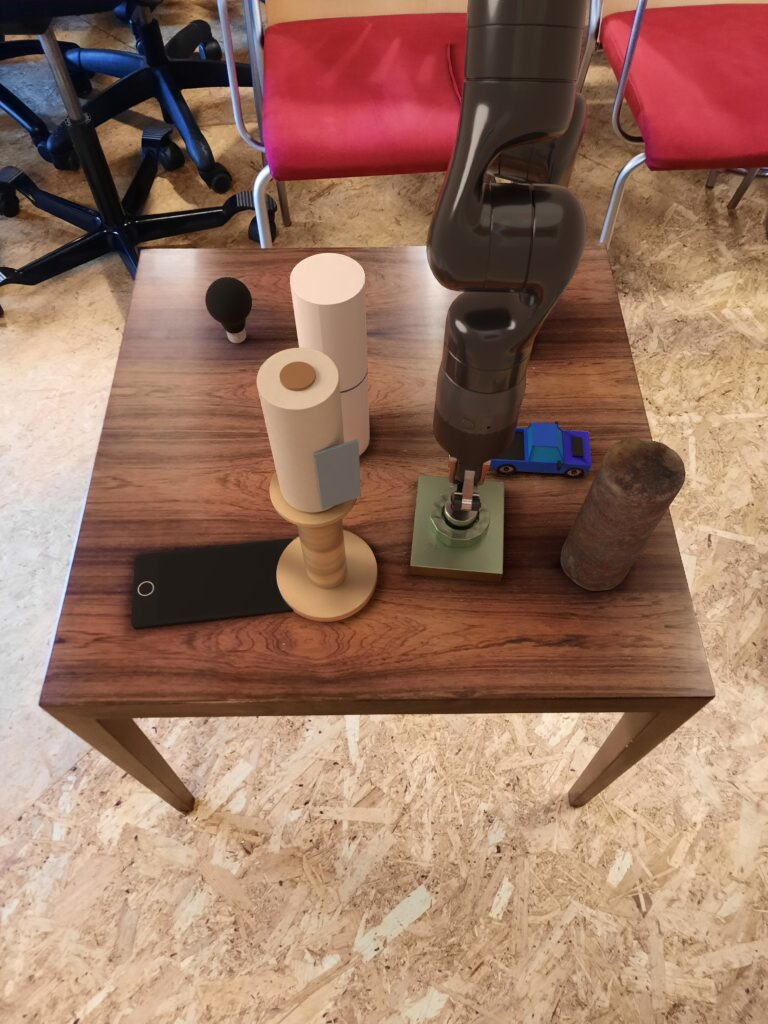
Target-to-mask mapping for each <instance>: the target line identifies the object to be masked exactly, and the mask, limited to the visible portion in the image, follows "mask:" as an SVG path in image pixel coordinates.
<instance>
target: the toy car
mask: <svg viewBox="0 0 768 1024" xmlns="http://www.w3.org/2000/svg"><path fill="white" fill-rule="evenodd" d="M590 443H591V442H590V435H589V431H585V430H584V431H583V430H564V429H563V428H561V427H560V426H559V421H555V422H554V423H545V422H531V423H529V425H528V426H526V427H516V430H515V434H514V438H513V441H512V443H511V444H510V446H509V447H508V449H507V450H506V451H505V452H503V453H502V454H501V455H499V456H497V457H495V458H493V459H491V464H490V469H489V471H491V472H492V471H496V473H497V474H499V475H500V476H511V475H514V474H515V473H516V472H521V473H522V472H524V473H525V472H526V473H544V474H559V475H560V474H561V475H564V476H565V477H566V478H568V479H573V480H575V479H579V478H581V477H590V474H591V469H592V455H591V445H590ZM489 471H488V472H489Z"/></svg>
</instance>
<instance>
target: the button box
mask: <svg viewBox="0 0 768 1024" xmlns="http://www.w3.org/2000/svg"><path fill="white" fill-rule="evenodd" d="M416 485H417V487H416V495H415V497H416V498H415V508H414V519H413V531H412V542H411V550H410V551H411V552H410V563H409V575H410V576H421V577H431V578H444V579H456V580H464V581H465V580H466V581H478V582H490V583H498V584H499V583H501V581H502V579H503V575H504V542H505V541H504V537H505V535H504V534H505V533H504V531H505V530H504V529H505V481H502V480H500V481H499V480H487V479H484V483H483V485H481V486H478V492H476V493H480V497H479V498H480V502H481V508H480V509H479V511H478V513H477V518H476V521H475V523H474V524H473V525H472V526H471V527H469V528H467V529H462V530H461V529H455V528H453V527H451V526H449V525H448V524H447V522H446V521H445V519H444V509H445V503H446V501H447V500H448V499H449V498H450V497H451V494H452V489H451V485H453V484H452V483H450V482H449V476H439V475H438V476H437V475H426V474H418V475H417V484H416Z"/></svg>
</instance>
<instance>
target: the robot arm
mask: <svg viewBox="0 0 768 1024" xmlns="http://www.w3.org/2000/svg"><path fill="white" fill-rule="evenodd" d="M587 8H588V0H467V6H466V22H465V29H466V30H465V37H464V54H463V71H462V79H463V81H462V87H461V96H462V98H461V106H459V107H460V108H459V116H458V123H457V128H456V133H455V134H456V135H455V138H454V142H453V146H452V150H451V154H450V158H449V162H448V165H447V169H446V172H445V175H444V178H443V182H442V185H441V187H440V190H439V193H438V196H437V200H436V202H435V206H434V209H433V211H432V215H431V218H430V222H429V226H428V230H427V235H426V243H425V245H426V246H425V247H426V248H425V251H426V252H425V253H426V258H427V259H426V260H427V263H428V266H429V269H430V271H431V274H432V275H433V278H434V279H435V280H436V281H437V283H438V284H439V285H440V286H442V287H443V288H445V289H446V290H449V291H453V292H458V293H460V292H461V293H460V294H459V295H457V296H456V297H455V298H454V299H453V301H452V302H451V304H450V305H449V307H448V310H447V313H446V318H445V323H444V335H443V344H442V345H443V346H442V354H441V360H440V361H441V362H440V365H439V368H438V373H437V377H436V386H435V387H436V388H435V397H434V407H433V408H434V409H433V420H432V432H433V436H434V438H435V441H436V442H437V444H438V445H439V447H440V448H441V449H442V450H444V452H445V453H447V454H448V465H447V466H448V468H449V473H448V477H449V482H450V483H452V484H453V485H451V489H452V494H451V498H450V501H451V509H454V511H465V512H468V511H479V509H480V508H481V502H480V498H479V497H480V493H476V492H478V486H481V485H483V483H484V480H486V479H485V478H486V474H487V472H489V469H490V464H491V459H493V458H495V457H497V456H499V455H501V454H502V453H503V452H505V451H506V450H507V449H508V447H509V446H510V444H511V443H512V441H513V438H514V434H515V430H516V428H517V425H518V422H519V417H520V415H521V414H520V413H521V409H522V405H523V401H524V397H525V392H526V388H527V372H528V368H529V363H530V360H531V355H532V351H533V346H534V343H535V339H536V336H537V335H538V333H539V332H540V329H541V328H542V326H543V325H544V323H545V321H546V320H547V318H548V316H549V315H550V313H551V312H552V310H553V309H554V308H555V307H556V305H557V303H558V302H559V301H560V300H561V298H562V296H563V295H564V293H565V292H566V290H567V288H568V287H569V286H570V283H571V282H572V280H573V278H574V277H575V275H576V272H577V271H578V268H579V267H580V264H581V262H582V259H583V255H584V252H585V249H586V244H587V238H588V221H587V215H586V211H585V208H584V206H583V204H582V202H581V200H580V198H579V197H578V195H577V194H576V193H575V192H574V191H572V190H571V188H569V186H570V183H571V178H572V176H573V171H574V168H575V165H576V163H577V159H578V157H579V156H578V155H579V152H580V149H581V147H582V142H583V138H584V135H585V130H586V124H587V119H588V104H587V103H588V102H587V100H586V97H585V96H584V95H583V94H582V93H581V92H579V91H577V88H578V84H577V81H578V80H579V71H580V62H581V55H582V48H583V39H584V33H585V31H584V30H585V24H586V16H587ZM487 175H488V176H489V181H490V182H488V181H485V180H486V176H487ZM496 178H498V179H502V180H506V181H509V182H497V180H496Z"/></svg>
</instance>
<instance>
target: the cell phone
mask: <svg viewBox="0 0 768 1024" xmlns="http://www.w3.org/2000/svg"><path fill="white" fill-rule="evenodd" d="M295 539H296V538H291V537H290V538H280V539H279V538H278V539H271V540H261V541H251V542H244V543H243V542H242V543H241V542H240V543H233V544H223V545H215V546H205V547H194V548H185V549H176V550H167V551H156V552H148V553H147V552H146V553H140V554H137V555H136V556H135V559H134V566H133V567H134V568H133V583H132V598H131V600H132V601H131V602H132V603H131V614H130V615H131V616H130V623H131V624H130V625H131V627H132V629H134V630H143V629H153V628H163V627H170V626H179V625H181V626H182V625H187V624H196V623H206V622H214V621H225V620H233V619H243V618H252V617H260V616H266V615H275V614H282V613H283V614H284V613H293V612H294V610H293V609H292V608H291V607H290V606H289V605H288V604H287V603H286V602H285V600H284V599H283V597H282V595H281V593H280V590H279V587H278V584H277V566H278V562H279V559H280V557H281V555H282V553H283V552H284V550H285V549H286V548H287V546H288V545H289V544H290V543H291V542H292V541H293V540H295Z"/></svg>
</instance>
